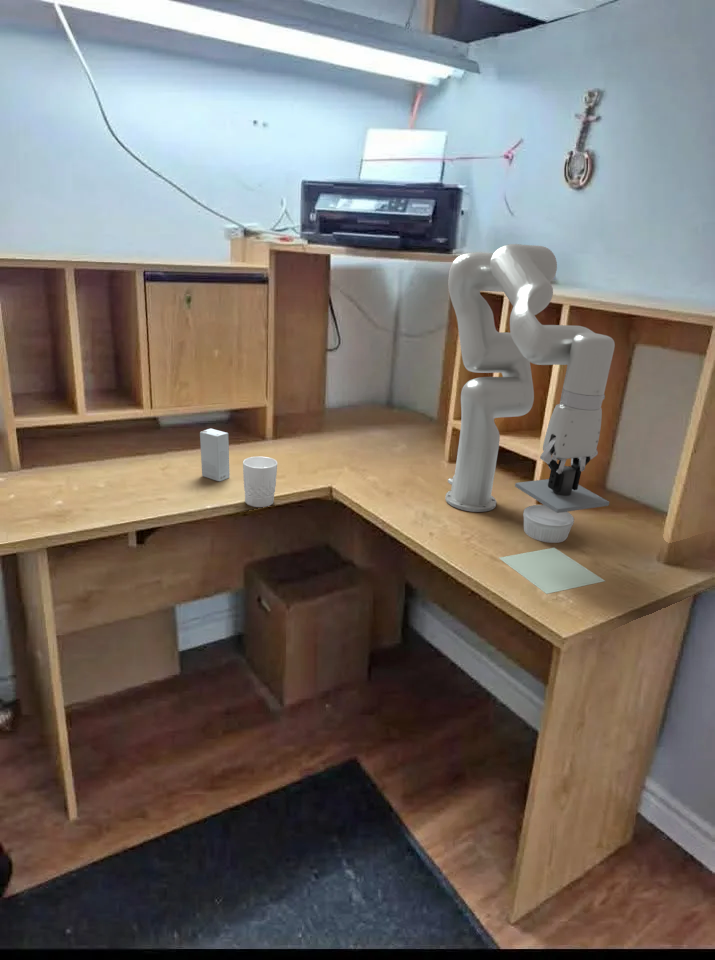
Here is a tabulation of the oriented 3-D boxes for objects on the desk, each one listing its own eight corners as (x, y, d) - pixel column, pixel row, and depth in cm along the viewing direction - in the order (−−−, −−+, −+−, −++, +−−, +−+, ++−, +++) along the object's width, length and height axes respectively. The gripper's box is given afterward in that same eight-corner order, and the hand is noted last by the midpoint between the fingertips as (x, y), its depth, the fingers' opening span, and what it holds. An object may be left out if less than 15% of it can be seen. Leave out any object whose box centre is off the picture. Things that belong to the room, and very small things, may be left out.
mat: (498, 559, 138) (498, 557, 138) (553, 549, 145) (554, 547, 145) (546, 596, 126) (546, 593, 126) (604, 583, 132) (605, 580, 132)
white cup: (266, 511, 153) (267, 470, 149) (236, 504, 155) (236, 463, 152) (282, 499, 160) (283, 460, 156) (253, 492, 162) (253, 454, 159)
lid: (514, 486, 136) (519, 460, 134) (564, 480, 142) (569, 455, 140) (556, 513, 126) (563, 484, 123) (608, 505, 131) (615, 478, 129)
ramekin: (531, 547, 145) (535, 525, 144) (512, 525, 156) (516, 504, 154) (578, 546, 147) (583, 525, 145) (557, 524, 158) (561, 504, 156)
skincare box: (230, 477, 170) (230, 432, 166) (218, 482, 167) (218, 436, 162) (212, 471, 173) (211, 427, 169) (200, 476, 169) (199, 431, 165)
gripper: (600, 393, 133) (581, 477, 140) (533, 396, 126) (517, 485, 133) (628, 403, 126) (607, 491, 133) (560, 407, 120) (541, 500, 127)
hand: (562, 487), depth 133 cm, fingers closed on lid, 3 cm apart
